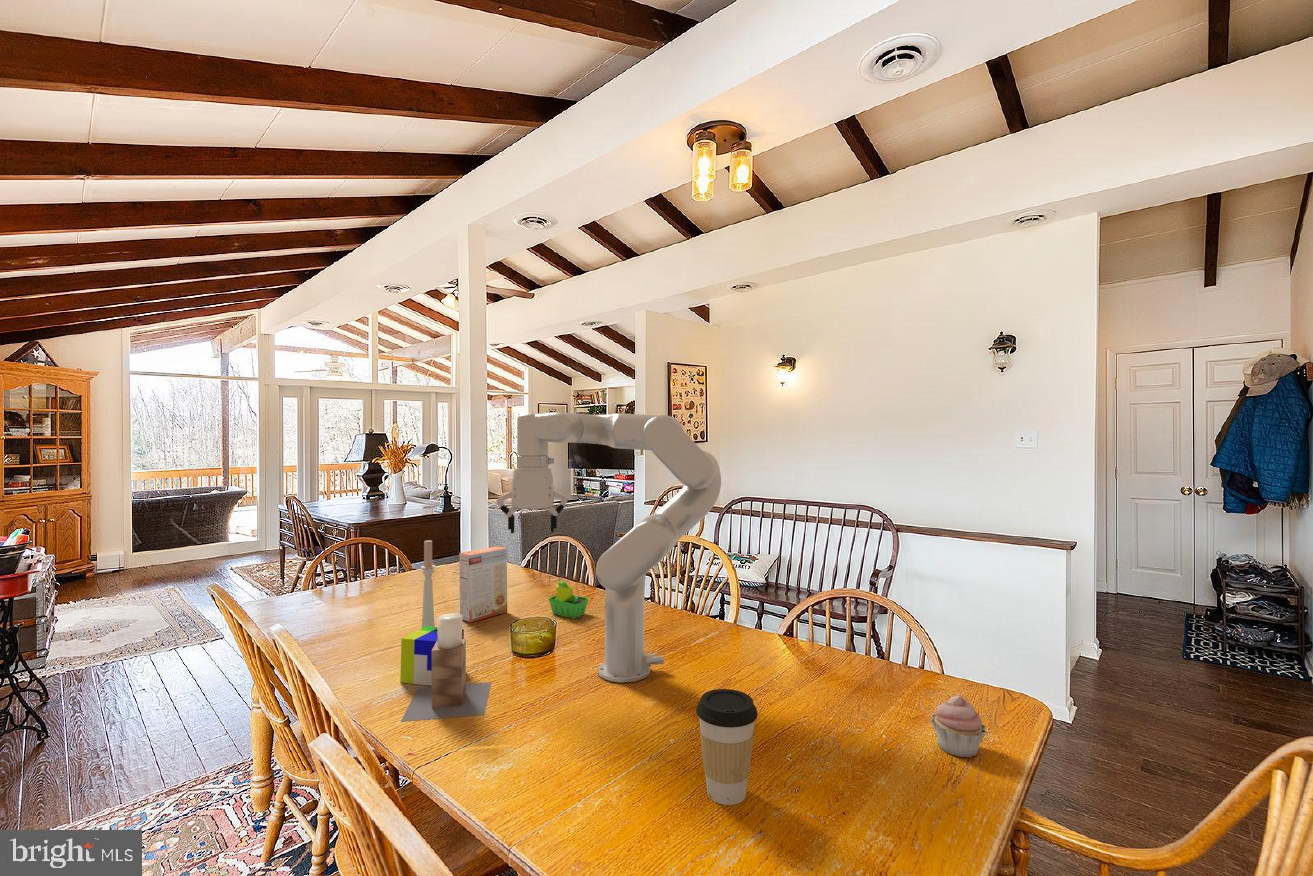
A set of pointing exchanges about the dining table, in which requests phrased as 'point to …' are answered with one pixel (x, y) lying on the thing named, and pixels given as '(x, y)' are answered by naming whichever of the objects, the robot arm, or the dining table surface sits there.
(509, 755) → the dining table surface
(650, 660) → the robot arm
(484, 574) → the cracker box
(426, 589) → the candlestick
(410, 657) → the puzzle toy
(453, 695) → the block
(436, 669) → the tower top
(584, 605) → the fruit basket
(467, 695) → the mat
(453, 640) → the ceramic cylinder
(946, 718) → the cupcake
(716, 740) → the coffee cup
